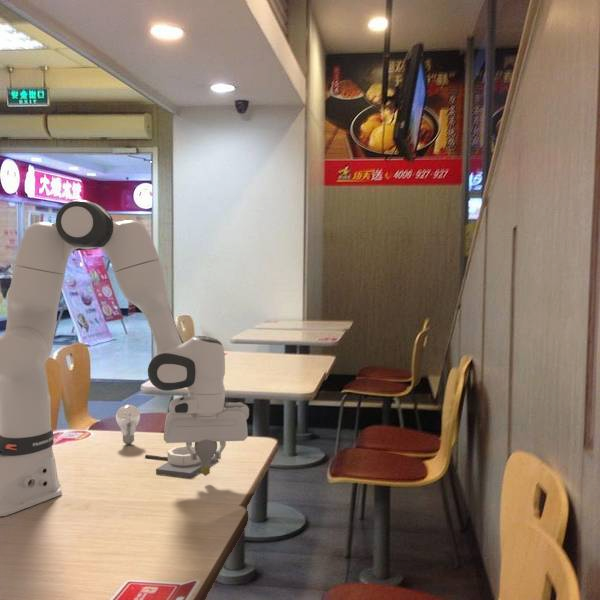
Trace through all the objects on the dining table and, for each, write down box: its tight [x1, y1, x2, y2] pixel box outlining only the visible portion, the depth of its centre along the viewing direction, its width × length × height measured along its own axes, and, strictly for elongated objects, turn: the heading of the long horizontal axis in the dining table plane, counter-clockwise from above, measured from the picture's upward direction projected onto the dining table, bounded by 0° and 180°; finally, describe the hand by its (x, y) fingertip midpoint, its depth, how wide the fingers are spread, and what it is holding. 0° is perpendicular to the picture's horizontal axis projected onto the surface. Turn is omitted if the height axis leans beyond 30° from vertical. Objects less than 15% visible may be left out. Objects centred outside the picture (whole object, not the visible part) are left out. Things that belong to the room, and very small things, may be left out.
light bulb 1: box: [115, 404, 141, 446], centre depth 185 cm, size 7×7×12 cm
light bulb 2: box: [194, 440, 218, 477], centre depth 152 cm, size 5×6×10 cm
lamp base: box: [144, 445, 219, 479], centre depth 166 cm, size 15×20×4 cm
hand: (205, 459), depth 152 cm, fingers closed on light bulb 2, 4 cm apart
